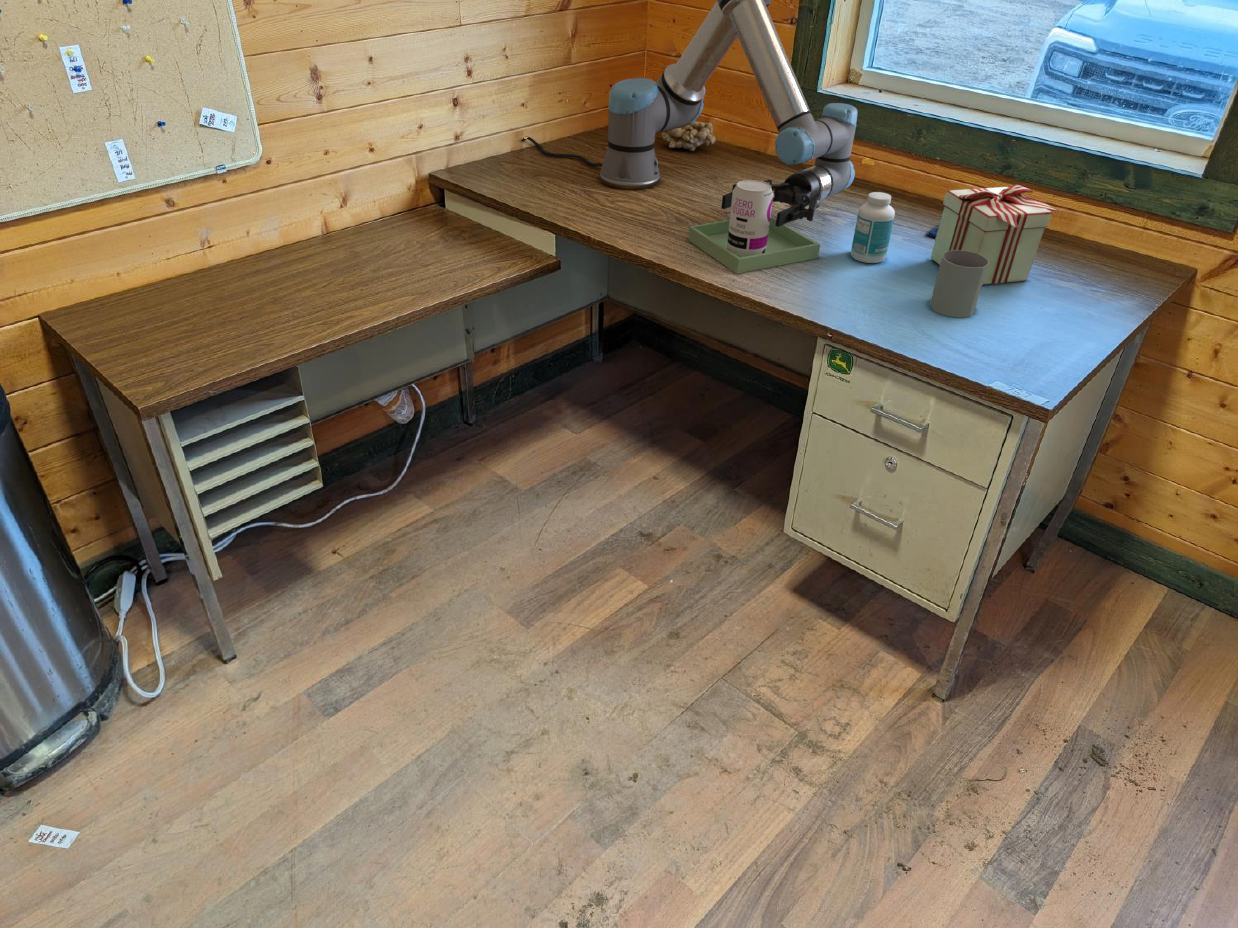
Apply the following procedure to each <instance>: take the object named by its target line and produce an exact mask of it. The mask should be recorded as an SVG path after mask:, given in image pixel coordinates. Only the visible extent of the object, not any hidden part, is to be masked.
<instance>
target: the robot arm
mask: <svg viewBox="0 0 1238 928" xmlns="http://www.w3.org/2000/svg"><path fill="white" fill-rule="evenodd" d="M772 1H773V0H716V2H715V3H714V5H713V6H712V7H711V9H710V11H709V12H708V13H707V15H706V16H705V18H704V20H703V21H702V22H701V24H700V26H699V28H698V29H697V31H696V32H695V34H694V36H693V37H692V38H691V40H690V42H689V43H688V45H687V46H686V48H685V49H684V51H683V53H682V54H681V56H680V57H679V59H678V60H677V62H676V63H670V64H669V65H667V66H666V67H665V69H664V70H663V72H662V73H661V75H660V77H658V80H657V81H655V80H653V79H650V78H646V77H645V78H643V77H637V78H627V79H623V80H620V81H618V82H616V83H614V85H612V86H611V88H610V89H609V97H608V103H607V107H608V115H607V116H608V117H607V118H608V119H607V121H608V122H607V126H608V127H607V150H606V153H605V156H604V159H603V162H602V163H601V162H592V161H590V160H588V159H587V158H586V157H585V156H582V155H579V154H574V153H554V152H549V151H547V150H545V149H544V146H542V145H541V144H540V143H539V142H537V141H536V140H535V139H534V138H533V137H531V136H527V137H528V138H527V139H528V140H527V139H524V137H523V138H521V140H520V142H525V141H530V142H531V143H532V144H533V145H535V146H536V147H537V148H539V149H540V151H541V152H542V154H544V155H546V156H550V157H556V158H557V157H558V158H575V159H578V160H582V161H583V162H584V163H586V164H587V165H589V166H592V167H600V171H599V181H600V182H601V183H602V184H604V185H606V186H607V187H610V188H615V189H620V190H631V191H632V190H635V191H636V190H645V189H649V188H653V187H655V186H658V185H659V183H660V180H661V173H660V172H661V171H660V168H659V161H658V159H657V156H656V152H655V141H656V134H659V133H664V132H667V130H671V129H676V128H682V127H685V126H687V125H689V124H691V123H692V122H694V121H696V120H697V119H698V118H699V117H700V116H701V114H702V112H703V109H704V106H705V103H704V102H703V101H704V100H705V95H706V87H705V86H706V84H707V82H708V81H709V80H710V79H711V77H712V75H713V74H714V72H715V71H716V69H718V66H719V65H720V64H721V62H722V61H723V59H724V58H725V57H726V55H727V54H728V52H729V51H730V49H731V48H732V47H733V45H734V44H735V42H736V41H737V39H738V40H739V42H740V45H741V47H742V50H743V52H744V54H745V57H746V60H747V62H748V64H749V66H750V68H751V71H752V73H753V75H754V78H755V80H756V82H757V85H758V87H759V90H760V92H761V94H762V96H763V99H764V101H765V104H766V106H767V109H768V111H769V113H770V114H771V115H770V116H771V118H772V120H773V122H774V124H775V127H776V130H777V132H778V134H777V136H776V138H775V140H774V141H775V143H774V146H775V149H774V150H775V151H774V152H775V154H776V156H777V158H778V159H779V160H780V162H782V163H783V164H785V165H788V166H794V165H799V164H804V163H809V162H810V161H812V160H814V165H812V166H809V167H807V168H804V169H802V170H799V171H797V172H795V173H792V174H790V175H789V176H788V177H786V179H785V180H784V182H780V183H779V184H778V183H775V184H774V183H773V180H772V179H766V180H763V182H766V183H768V184H770V185H771V189H772V192H773V202H772V203H781V204H787V205H788V206H790V207H787V208H785V209H782V210H780V211H777V213H776V218H775V219H776V225H775V226H777V227H779V226H782V225H784V224H786V225H787V224H789V223H790V222H794V221H797V220H804V219H806V221H808V222H812V221H813V220H814V216H815V213H816V210H817V209H818V208H819V207H820V205H821V200H825V199H826V198H829V197H831V196H834V195H837V194H840V193H841V192H843V191H844V190H846V189H847V188H849V187H850V186H851V185H852V183H853V182H854V180H855V176H856V171H855V168H854V164H853V162H852V161H851V154H852V149H853V144H854V139H855V134H856V128H857V120H858V109H857V108H856V107H855V106H853V105H852V104H849V103H844V102H843V103H842V102H830V103H827V104H825V105H824V107H823V109H822V113H821V116H820V117H821V118H818V119H814V116H813V114H812V113H811V110H810V108H809V105H808V103H807V101H806V98H805V96H804V93H803V91H802V88H801V86H800V83H799V81H798V79H797V76H796V74H795V71H794V69H793V67H792V64H791V61H790V60H789V57H788V55H787V53H786V50H785V48H784V45H783V43H782V41H781V37H780V35H779V32H778V31H777V28H776V26H775V23H774V21H773V19H772V16H771V14H770V11H769V9H768V7H769V5H770V4H771V2H772ZM736 185H737V183H733V184H732V188H731V189H732V190H731V191H730V192H729V193H726V194H724V195H722V199H721V207H720V208H721V209H722V210H727V209H729V208H731V204H732V194H733V190H734V188H735V187H736ZM807 207H808V208H807Z"/></svg>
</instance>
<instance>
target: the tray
mask: <svg viewBox="0 0 1238 928" xmlns="http://www.w3.org/2000/svg"><path fill="white" fill-rule="evenodd" d="M729 222H730V219H726V220H720V221H714V222H708V223H702V224H695V225H690V226H688V236H687V240H688V242H690V243H692V244H693V245H694V246H696V247H698V248H699V249H700V250H702V251H703V252H705V253H706V254H708V255H709V256H710V257H712V258H713V259H715V260H717V261H718V262H719V263H721V264H723V266H725V267H727V268H728V269H730V270H731V271H732V272H734V273H735V274H742V273H743V274H744V273H747V272H748V273H749V272H752V271H758V270H763V269H769V268H775V267H779V266H783V265H789V264H795V263H800V262H805V261H811V260H815V259H818V258H819V253H820V249H821V244H820V243H818V242H817V241H815V240H814V239H811V238H810V237H808V236H807V235H804V234H803V233H801V232H800V231H798V230H796V229H794V228H792V227H791V226H789V225H788V224H787V223H786V224H784V225H782V226H779V227H777V226H775V225H776V218H775V217H774V216H772V215H771V217H770V224H769V232H768V239H767V246H766V253H762V254H756V255H751V256H746V257H738V256H737V255H735V254H734V253H732V252H731V251H729V250H728V249H727V241H728V231H729Z"/></svg>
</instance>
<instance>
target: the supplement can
mask: <svg viewBox="0 0 1238 928" xmlns="http://www.w3.org/2000/svg"><path fill="white" fill-rule="evenodd" d="M763 181H764V180H763ZM763 181H762V180H759V179H758V180H757V179H745V180H743V179H742V180H740V181H737V182H736V184H737V185H736V187H735V188H734V190H733V194H732V204H731V207H730V212H729V213H730V214H729V220H730V222H729V231H728V241H727V249H728V250H729V251H731V252H732V253H734V254H735V255H737V256H738V257H746V256H751V255H756V254H762V253H766V246H767V239H768V232H769V224H770V217H771V216H772V208H773V203H774V202H773V198H774V191H773V192H772V189H771V185H770V184H768V183H766V182H763Z"/></svg>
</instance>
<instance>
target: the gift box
mask: <svg viewBox="0 0 1238 928" xmlns="http://www.w3.org/2000/svg"><path fill="white" fill-rule="evenodd" d="M1024 193H1025V194H1026V193H1030V194H1031V193H1034V189H1033V190H1032V189H1030V188H1027V187H1025V186H1023V185H1020V184H1013V185H1011V186H1009V187H1008V186H998V187H996V186H995V187H983V188H982V187H981V188H980V187H979V188H968V189H967V188H966V189H964V188H963V189H951V190H946V192H945V194H944V199H943V203H942V206H944V207H943V210H942V214H941V218H940V221H939V224H938V225H939V228H938V232H937V236H936V237H935V240H934V243H933V247H932V250H931V254H930V259H931V260H932V261H934V262H935V263H936V264H938V265H939V266H940V263H941V260H942V256H943V253H945V252H947V251H952V250H963V251H970V252H974V253H977V254H980V255H982V256H984V257H985V258H986V259H987V260H988V261H989V264H988V268H987V271H986V274H985V278H984V281H983V285H982V286H986V285H996V284H1005V283H1017V282H1025V281H1027V280H1028V278H1029V275H1030V272H1031V269H1032V266H1033V263H1034V261H1035V258H1036V255H1037V252H1038V249H1039V246H1040V243H1041V241H1042V237H1043V234H1044V233H1045V232H1044V231H1045V229H1046V228H1048V227H1049V224H1050V222H1051V219H1052V215H1053V212H1059V210H1058V209H1055V207H1052V206H1051V205H1049V204H1047V203H1046V202H1043V201H1040V200H1036V199H1032V198H1028V197H1026V196H1024V195H1023V194H1024ZM1052 211H1053V212H1052Z"/></svg>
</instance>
